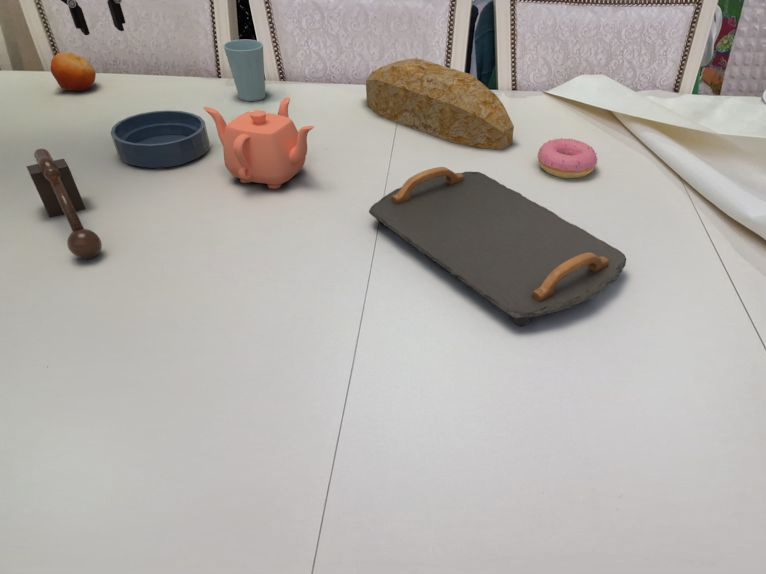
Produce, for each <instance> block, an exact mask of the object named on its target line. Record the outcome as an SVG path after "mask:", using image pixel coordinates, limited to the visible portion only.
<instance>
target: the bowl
mask: <svg viewBox="0 0 766 574" xmlns="http://www.w3.org/2000/svg"><path fill="white" fill-rule="evenodd" d="M110 136H111V139H112V142H113V144H114V147H115V148H114V149H115V150H116V153H117V156H118V157H119V159H120V160H121V161H122V162H124V163H127V164H128V165H133V166H136V167H143V168H155V169H157V168H159V169H160V168H171V167H176V166H180V165H184V164H187V163H190V162H192V161H194V160H197V159H198V158H200V157H202V156H203V155H205V154H206V153H207V152H208V150H209V149H210V144H211V143H210V138H209V134H208V130H207V126H206V122H205V121H204V119H203V118H202V117H201V116H199V115H197V114H195V113H193V112H187V111H182V110H170V109H168V110H153V111H148V112H142V113H141V112H140V113H137V114H134V115H131V116H128V117H125V118H123V119H120V120H119V121H117V122H116V123H115V124H114V125H113V126H111V129H110Z"/></svg>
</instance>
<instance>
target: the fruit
mask: <svg viewBox="0 0 766 574" xmlns="http://www.w3.org/2000/svg"><path fill="white" fill-rule="evenodd" d="M50 72H51V75H52V76H53V78H54V80H55V81H56V83H57V84H58V86H59V87H60V89H61V90H60V91H59V93H60V94H62V93H63V91H66V90H69V91H74V92H88V91H89V90H90V89H91V88H92V86H93V84H94V83H95V81H96V77H97V76H96V75H97V74H96V71H95V69H94V67H93V66H92V64H91V63H90V62H89V61H88V60H87V59H86V58H84V57H82V56H80V55H77V54H74V53H72V52H65V53H63V52H57V53H56V54H55V55H54V56H53V57H52V58H51V61H50Z"/></svg>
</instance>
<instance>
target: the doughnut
mask: <svg viewBox="0 0 766 574" xmlns="http://www.w3.org/2000/svg"><path fill="white" fill-rule="evenodd" d="M597 154H598V153H596V151H595V150H594V148H593V146H590V145H589V144H588V143H585V142H584V141H580V140H577V139H573V138H562V137H561V138H554V139H551V140H548V141H547V142H544V143H543V144H542V145H541V146H540V148H539V150H538V151H537V156H536V157H537V160H538V164H539V166H540V167H541V168H542V170H543V171H545V172H546V173H548V174H550V175H552V176H555V177H559V178H563V179H577V178H583V177H585V176H587V175H589V174H591V172H593V171H594V169H595V167H596V165H597V163H598V156H597Z"/></svg>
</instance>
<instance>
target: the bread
mask: <svg viewBox="0 0 766 574" xmlns="http://www.w3.org/2000/svg"><path fill="white" fill-rule="evenodd" d="M365 93H366V105H367V107H368V108H369V109H370V110H371V111H373V112H374V113H375V114H376V115H378V116H379V117H381V118H384V119H387V120H389V121H392V122H395V123H397V124H400V125H403V126H405V127H408V128H411V129H414V130H417V131H419V132H423V133H424V134H428V135H431V136H434V137H435V138H439V139H442V140H444V141H447V142H450V143H453V144H458V145H463V146H468V147H474V148H479V149H480V148H481V149H490V150H491V149H492V150H500V151H501V150H503V149H505V148H507V147H509V146H511V145H512V144H513V138H514V129H515V125H514V123H513V121H512V120H511V117H510V116H509V114H508V111H507V109H506V107H505V104H504V103H503V102H502V101H501V99H500V98H499V97H498V95H497V94H496V93H495V92H494V91H492V90H491V89H489V88H488V87H487V86H486V85H485V84H484V83H482V82H481V81H480V80H479V79H478V78H477V77H476V76H474V75H473V74H471V73H468V72H465V71H461V70H459V69H454V68H451V67H448V66H445V65H441V64H438V63H434V62H431V61H428V60H424V59H422V58H418V57H414V58H409V59H403V60H398V61H394V62H391V63H389V64H386V65H382V66H381V67H379V68H376V69H375V70H373V71H371V73H370V74H369V75H368V77H367V78H366V80H365Z"/></svg>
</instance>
